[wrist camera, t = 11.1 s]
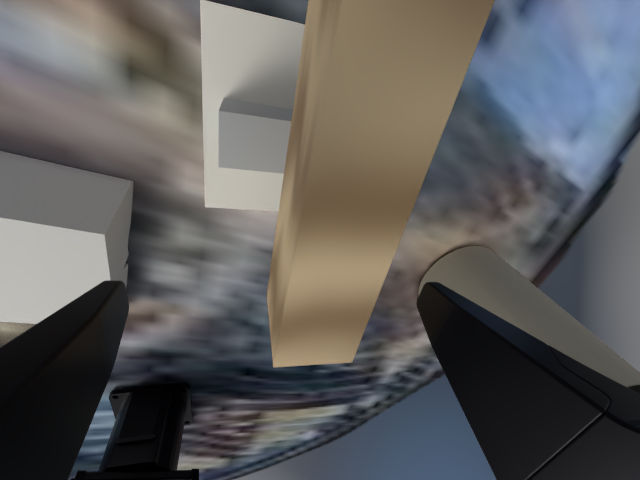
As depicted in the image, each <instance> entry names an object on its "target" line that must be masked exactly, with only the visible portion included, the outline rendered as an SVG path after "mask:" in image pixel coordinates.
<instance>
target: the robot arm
mask: <svg viewBox="0 0 640 480" xmlns="http://www.w3.org/2000/svg"><path fill="white" fill-rule="evenodd" d="M417 308H418V311H419V313H420V316H421V319H422V321H423V324H424V327H425V329H426V332H427V335H428V337H429V340H430V342H431V345H432V347H433V350H434V352H435V354H436V356H437V358H438V360H439V362H440V364H441V366H442V368H443V370H444V372H445V374H446V377H447V378H448V381H449V383H450V385H451V387H452V389H453V391H454V393H455V395H456V397H457V399H458V401H459V403H460V405H461V407H462V409H463V411H464V413H465V416H466V418H467V420H468V422H469V424H470V426H471V428H472V430H473V432H474V434H475V436H476V438H477V440H478V442H479V444H480V446H481V448H482V451H483V453H484V455H485V457H486V459H487V461H488V463H489V465H490V467H491V469H492V471H493V473H494V475H495V477H496V479H497V480H640V394H639V393H637V392H635V391H633V390H631V389H630V388H628V387H626V386H624V385H622V384H620V383H618V382H616V381H614V380H612V379H610V378H608V377H606V376H604V375H603V374H601V373H599V372H597V371H595V370H593V369H591V368H589V367H587V366H586V365H584V364H582V363H580V362H578V361H576V360H575V359H573V358H571V357H569V356H567V355H566V354H564V353H562V352H560V351H558V350H557V349H555V348H553V347H551V346H550V345H547V344H546V343H544V342H543V341H541V340H539V339H537V338H536V337H534V336H532V335H530V334H528V333H527V332H525V331H523V330H521V329H520V328H518V327H516V326H514V325H513V324H511V323H509V322H507V321H506V320H504V319H502V318H500V317H499V316H497V315H495V314H493V313H492V312H490V311H488V310H486V309H485V308H483V307H481V306H479V305H478V304H476V303H474V302H472V301H471V300H469V299H467V298H465V297H463V296H462V295H460V294H458V293H456V292H455V291H453V290H451V289H449V288H448V287H446V286H444V285H442V284H441V283H439V282H426V283H425V284H424V285H423V288H422V290H421V292H420V294H419V296H418V299H417ZM128 311H129V303H128V298H127V292H126V287H125V284H124V282H123V281H120V280H107V281H103V282H101V283H100V284H98V285H97V286H95V287H93V288H92V289H90V290H89V291H87V292H86V293H84V294H83V295H81V296H79V297H78V298H76V299H75V300H73V301H72V302H70V303H69V304H67V305H65V306H64V307H62V308H61V309H59V310H58V311H56V312H54V313H53V314H51V315H50V316H48V317H47V318H45V319H44V320H42V321H40V322H39V323H37V324H36V325H34V326H33V327H31V328H30V329H28V330H26V331H25V332H23V333H22V334H20V335H19V336H17V337H15V338H14V339H12V340H11V341H9V342H8V343H6V344H5V345H3V346H1V347H0V480H68V478H69V475H70V473H71V470H72V468H73V466H74V463H75V461H76V458H77V456H78V453H79V451H80V448H81V446H82V444H83V441H84V439H85V436H86V434H87V431H88V429H89V426H90V424H91V422H92V419H93V417H94V414H95V412H96V409H97V407H98V404H99V402H100V399H101V397H102V395H103V392H104V390H105V387H106V385H107V382H108V380H109V377H110V375H111V372H112V369H113V366H114V363H115V360H116V356H117V352H118V349H119V345H120V341H121V338H122V334H123V330H124V327H125V323H126V319H127V316H128ZM109 400H110V403H111V406H112V409H113V412H114V415H115V418H116V421H115V424H114V427H113V430H112V433H111V435H110V438H109V441H108V444H107V447H106V450H105V453H104V456H103V459H102V462H101V465H100V468H99V470H98V472H86V471H87V470H78V472H77V474H76V477H75V478H72V479H71V480H199V469H192V470H177V466H178V460H179V453H180V447H181V441H182V434H183V428H184V425H190V424H191V423H192V420H193V415H192V402H191V389H190V385H189V384H175V385H163V386H151V387H140V388H128V389H117V390H113V391H111V392H110V395H109Z"/></svg>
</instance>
